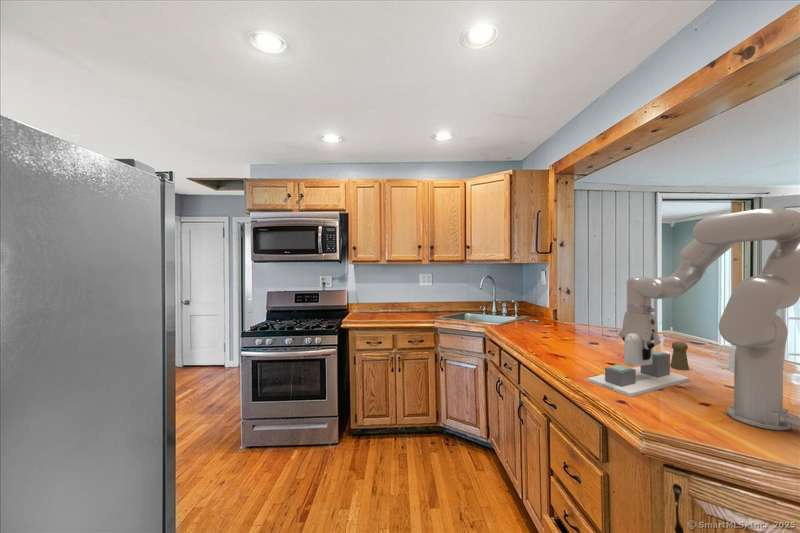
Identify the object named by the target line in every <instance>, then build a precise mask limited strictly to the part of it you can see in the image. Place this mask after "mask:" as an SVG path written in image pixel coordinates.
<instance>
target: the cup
mask: <svg viewBox="0 0 800 533" xmlns="http://www.w3.org/2000/svg"><path fill="white" fill-rule="evenodd" d="M721 347H723V348H726V349H728V352H729V353H728V355H729V356H728V360H722V359H721V355H720V351H721ZM735 349H736V346H735V345H732V344H730V345H725V344H719V345H718V346H717V349H716V358H717V361H718V362H719V363H721V364H727V365H728V370H729V372H731V373H733V374H734V362H735Z"/></svg>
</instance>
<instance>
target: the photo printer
mask: <svg viewBox="0 0 800 533" xmlns="http://www.w3.org/2000/svg"><path fill="white" fill-rule="evenodd" d="M652 342H654V340H651V343H652ZM623 348H624V352H623V353H624V354H623V356H624V357H623V358H624V361H623V362H624V364H625V366H627V367H639V366H642V365H651V364H652V352H653V348H654V347H653V348H652V349H651V357H650V359H648V360H643V349H645V348H644V344H643V341H641V340H640V337H639V336H638V335H637V334H635V333H634V334H633V333H630V334H628V335H626V336H625V342H624V347H623Z"/></svg>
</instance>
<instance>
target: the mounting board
mask: <svg viewBox="0 0 800 533" xmlns="http://www.w3.org/2000/svg"><path fill="white" fill-rule="evenodd" d="M670 366H671V354H670V353H667V352H664V351H658V350H653V352H652V364H651V365H642V366H634V367H630V366H626V365H621V364H616V365H612V366H608V367H607V366H606V367H604V373H603V374H599V375H596V376H595V375H593V376H591V377H587V378H586V381H587V382H588V383H591V384H594V385H597V386H599V387H601V388H605V389H607V390H611V391H614V392H615V391H616V392H615V393H618V394H620V395H624V396H626V397H628V398H629V397H630V398H631V397H636V396H639V395H643V394H646V393H651V392H654V391H658V390H661V389H664V388H668V387H671V386H675V385H679V384H683V383H687V382H690V377H688V376H685V375H682V374H677V373H674V372H671V367H670Z"/></svg>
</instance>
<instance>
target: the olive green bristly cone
mask: <svg viewBox="0 0 800 533" xmlns="http://www.w3.org/2000/svg"><path fill="white" fill-rule="evenodd" d="M688 346H689V345H688V344H687V343H686V342H684V341H673V342H672V343H671V348H672V349H673V351H672V354H671V359H670V369H675V370H677V371H678V370H679V371H689V364H688V362H689V361H688V356H687V350H688Z"/></svg>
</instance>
